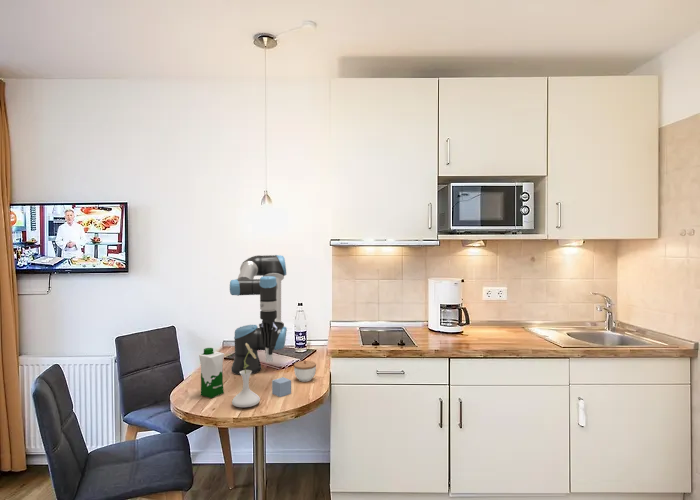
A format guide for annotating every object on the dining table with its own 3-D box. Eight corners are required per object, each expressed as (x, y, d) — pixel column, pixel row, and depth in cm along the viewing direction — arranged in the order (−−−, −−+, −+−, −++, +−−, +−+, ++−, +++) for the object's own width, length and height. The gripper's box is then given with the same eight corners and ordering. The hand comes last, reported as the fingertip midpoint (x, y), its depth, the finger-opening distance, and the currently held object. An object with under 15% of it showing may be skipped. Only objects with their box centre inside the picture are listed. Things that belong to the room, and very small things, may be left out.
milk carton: (213, 389, 189) (212, 346, 188) (227, 393, 184) (226, 348, 183) (197, 395, 181) (196, 350, 181) (211, 399, 176) (210, 353, 176)
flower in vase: (258, 409, 165) (257, 347, 165) (229, 410, 164) (228, 348, 164) (262, 397, 178) (261, 340, 178) (235, 398, 177) (234, 340, 177)
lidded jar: (312, 384, 195) (312, 364, 195) (291, 382, 197) (290, 363, 197) (318, 376, 205) (318, 358, 205) (298, 375, 207) (298, 356, 207)
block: (271, 380, 183) (280, 383, 178) (282, 377, 187) (291, 380, 183) (272, 393, 183) (280, 397, 179) (283, 390, 187) (291, 393, 183)
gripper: (253, 309, 191) (254, 360, 191) (269, 312, 181) (270, 366, 182) (267, 307, 196) (268, 356, 196) (283, 310, 187) (284, 362, 187)
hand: (269, 361), depth 189 cm, fingers closed
